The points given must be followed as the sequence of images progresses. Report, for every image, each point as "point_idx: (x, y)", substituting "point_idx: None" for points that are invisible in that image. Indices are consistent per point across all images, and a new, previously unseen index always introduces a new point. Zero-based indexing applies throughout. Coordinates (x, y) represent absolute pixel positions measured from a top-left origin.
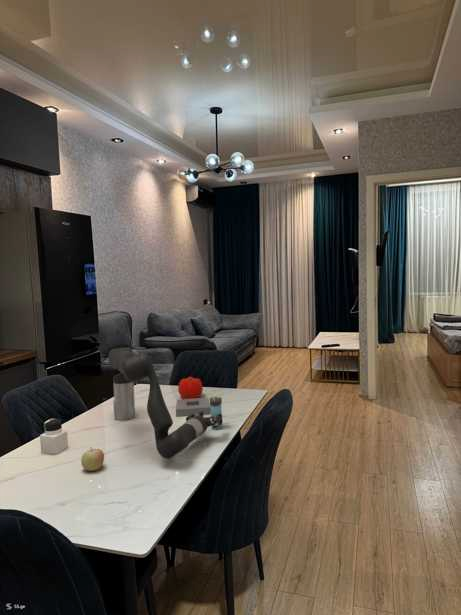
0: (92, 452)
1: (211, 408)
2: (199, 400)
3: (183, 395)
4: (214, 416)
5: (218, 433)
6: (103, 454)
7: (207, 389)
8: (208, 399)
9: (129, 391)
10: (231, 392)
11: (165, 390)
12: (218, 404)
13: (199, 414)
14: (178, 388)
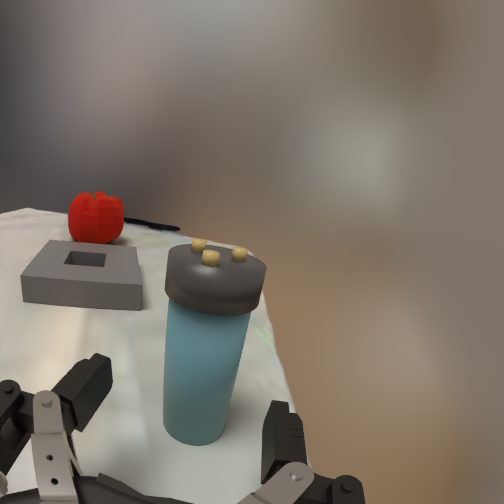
0: None
1: (177, 333)
2: (109, 251)
3: (74, 232)
4: (196, 389)
5: (228, 488)
6: None
7: (133, 230)
8: (136, 252)
9: None
10: (185, 243)
11: (53, 220)
12: (246, 312)
13: (74, 402)
14: (68, 214)
